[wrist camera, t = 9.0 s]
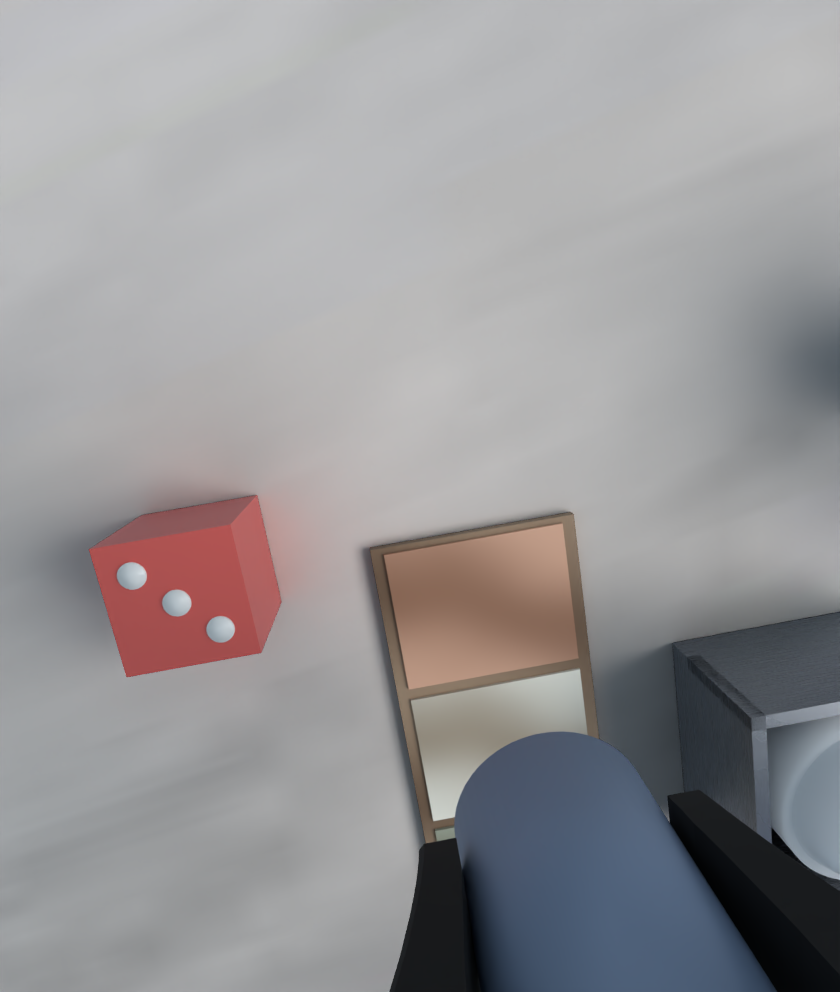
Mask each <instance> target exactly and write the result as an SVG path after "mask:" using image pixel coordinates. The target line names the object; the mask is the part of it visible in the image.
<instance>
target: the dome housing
mask: <svg viewBox="0 0 840 992" xmlns="http://www.w3.org/2000/svg"><path fill="white" fill-rule="evenodd" d="M672 645H673V657H674V669H675V682H676V694H677V706H678V719H679V731H680V743H681V755H682V768H683V780H684V792H689V791H694V790H700V791H702V792H703V793H704V794H706V795H707V796H708V797H710V798H711V799H713V800H714V801H715V802H717V803H718V804H719V805H721V806H722V807H723V808H724V809H726V810H727V811H728V812H730V813H731V814H732V815H734V816H735V817H736V818H738V819H739V820H740V821H742V822H743V823H744V824H746V825H747V826H748V827H750V828H751V829H752V830H754V831H755V832H756V833H758V834H759V835H760V836H762V837H763V838H764V839H766V840H767V841H769V842H770V843H771V844H773V845H774V846H775V847H777V848H778V849H780V850H781V851H782V852H784V853H785V854H787V855H788V856H789V857H791V858H792V859H794V860H795V861H796V862H798V863H799V864H801V865H802V866H804V867H805V868H806V869H808V870H809V871H811V872H812V873H814V874H815V875H816V876H818V877H819V878H821V879H822V880H824V881H825V882H827V883H828V884H830V885H831V886H833V887H834V888H836V889H837V890H839V891H840V880H839V879H834V878H830V877H827V876H824V875H821V874H819V873H817V872H815V871H813V870H812V869H810V868H809V867H807V866H806V865H805V864H803V863H802V862H801V861H800V860H799V859H798V857H797V856H796V855H795V854H794V853H793V852H792V851H791V849H790V848H789V847H788V846H787V845H786V844H785V842H784V841H783V840H782V839H781V838H780V836H779V835H778V834H777V833H776V832H775V831H774V829H773V828H772V827H771V814H770V793H769V771H768V750H767V729H769V728H774V727H779V726H784V725H790V724H795V723H800V722H806V721H811V720H816V719H821V718H827V717H832V716H837V715H840V612H838V613H832V614H827V615H822V616H816V617H811V618H805V619H800V620H795V621H789V622H784V623H778V624H773V625H768V626H762V627H757V628H751V629H746V630H740V631H735V632H730V633H724V634H719V635H713V636H708V637H703V638H697V639H692V640H686V641H681V642H676V643H672Z"/></svg>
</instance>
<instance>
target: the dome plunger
mask: <svg viewBox="0 0 840 992" xmlns="http://www.w3.org/2000/svg"><path fill="white" fill-rule="evenodd" d="M767 750H768V771H769V793H770V814H771V827H772V828H773V829H774V831H775V832H776V833H777V834H778V835H779V836H780V838H781V839H782V840H783V841H784V842H785V844H786V845H787V846H788V847H789V848H790V849H791V851H792V852H793V853H794V854H795V855H796V856H797V857H798V859H799V860H800V861H801V862H802V863H803V864H805V865H806V866H807V867H809V868H810V869H812V870H813V871H815V872H817V873H819V874H821V875H824V876H827V877H830V878H834V879H839V880H840V715H837V716H832V717H827V718H821V719H816V720H811V721H806V722H800V723H795V724H790V725H784V726H779V727H774V728H769V729H767Z"/></svg>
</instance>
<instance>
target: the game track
mask: <svg viewBox="0 0 840 992" xmlns="http://www.w3.org/2000/svg"><path fill="white" fill-rule="evenodd" d="M370 553H371V559H372V564H373V569H374V574H375V580H376V585H377V590H378V595H379V601H380V606H381V611H382V616H383V622H384V627H385V632H386V637H387V643H388V648H389V653H390V658H391V664H392V669H393V674H394V679H395V685H396V690H397V695H398V700H399V706H400V711H401V716H402V721H403V727H404V732H405V737H406V742H407V748H408V753H409V758H410V763H411V769H412V774H413V779H414V784H415V789H416V795H417V800H418V805H419V810H420V816H421V821H422V826H423V831H424V837H425V842H426V843H431V842H436V841H441V840H446V839H451V838H455V831H454V819H455V812H456V807H457V804H458V800H459V797H460V795H461V793H462V791H463V788H464V786H465V784H466V783H467V781H468V780H469V778H470V777H471V775H472V774H473V773H474V772H475V770H476V769H477V768H478V767H479V766H480V765H481V764H482V763H483V762H484V761H485V760H486V759H487V758H488V757H489V756H491V755H492V754H494V753H495V752H496V751H498V750H499V749H501V748H503V747H504V746H506V745H508V744H510V743H512V742H514V741H517V740H519V739H521V738H524V737H528V736H531V735H535V734H540V733H546V732H561V731H563V732H575V733H580V734H585V735H589V736H592V737H595V738H597V739H599V733H598V724H597V715H596V706H595V698H594V689H593V680H592V671H591V662H590V654H589V645H588V636H587V627H586V618H585V610H584V601H583V592H582V583H581V574H580V566H579V557H578V548H577V539H576V530H575V521H574V514H573V513H571V512H568V513H562V514H557V515H551V516H546V517H540V518H534V519H529V520H523V521H517V522H512V523H506V524H500V525H495V526H489V527H484V528H478V529H472V530H467V531H461V532H455V533H450V534H444V535H439V536H433V537H427V538H422V539H416V540H410V541H405V542H399V543H393V544H388V545H382V546H377V547H371V548H370Z"/></svg>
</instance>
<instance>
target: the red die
mask: <svg viewBox="0 0 840 992" xmlns="http://www.w3.org/2000/svg"><path fill="white" fill-rule="evenodd" d="M89 551H90V555H91V558H92V562H93V565H94V568H95V572H96V575H97V578H98V582H99V585H100V589H101V592H102V595H103V599H104V602H105V606H106V609H107V612H108V616H109V619H110V623H111V626H112V629H113V633H114V636H115V640H116V643H117V646H118V650H119V653H120V656H121V660H122V663H123V667H124V670H125V673H126V677H131V676H136V675H142V674H147V673H153V672H158V671H164V670H169V669H175V668H181V667H186V666H192V665H197V664H203V663H208V662H214V661H219V660H225V659H230V658H236V657H241V656H247V655H252V654H258V653H261V652H262V650H263V647H264V645H265V642H266V640H267V637H268V635H269V632H270V630H271V627H272V625H273V622H274V620H275V617H276V615H277V612H278V610H279V607H280V605H281V598H280V593H279V589H278V585H277V580H276V576H275V571H274V567H273V563H272V558H271V554H270V549H269V545H268V541H267V536H266V532H265V527H264V523H263V519H262V514H261V510H260V506H259V501H258V497H257V495H255V496H249V497H243V498H237V499H232V500H226V501H220V502H214V503H209V504H203V505H197V506H191V507H186V508H180V509H174V510H168V511H163V512H157V513H151V514H145V515H141V516H140V517H138V518H136V519H135V520H133V521H132V522H130V523H129V524H127V525H126V526H124V527H123V528H121V529H119V530H118V531H116V532H115V533H113V534H112V535H110V536H109V537H107V538H106V539H104V540H102V541H101V542H99V543H98V544H96V545H95V546H93V547H92V548H90V549H89Z"/></svg>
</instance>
